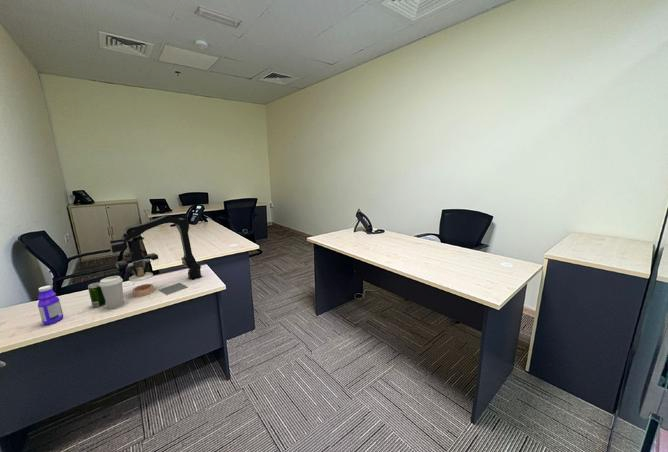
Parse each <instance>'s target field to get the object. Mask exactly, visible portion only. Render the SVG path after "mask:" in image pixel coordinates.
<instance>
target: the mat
mask: <svg viewBox="0 0 668 452" xmlns="http://www.w3.org/2000/svg"><path fill="white" fill-rule="evenodd" d="M188 288H189V286H187V285H185V284H183V283H181V282H177V283H173V284H172V285H168V286H165V287H162V288H160V289H158V291H159V292H161V293H162V294H164V295H166V296H168V295H172V294H175V293H177V292H179V291H183V290H186V289H188Z"/></svg>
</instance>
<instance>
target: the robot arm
mask: <svg viewBox="0 0 668 452" xmlns="http://www.w3.org/2000/svg"><path fill="white" fill-rule="evenodd" d="M167 223H172V224H174V225H175V227H176V229H177V230H178V232H179V234H180V235H179V236H180V240H181V244H182V245H181V247H182V251H183V257H181V264H183V266H184V267H186V268H187V269H188V272H187V278H188V279H189V280H192V281H194V280H197V279H200V278H203V275H202V273H201V272H202V271H201V268H202V266H201V265H200V264H198V263H197V261H196V258H195V257H194V254H193V251H192V247H191V241H190V237H189V231H190V223H189V220H187V219H186V218H182V217H179V218H178V217H174V216H172V215H170V214H164V215H162V216H159V217H157V218H154V219H151V220H148V221H146V222H143V223H137V224H132V225H128V226H126V227H125V228H124V233H123V235H122V236H121V238H118V239H109V250H110V253H111V254H115V253H121V252H123V253H122V256H123V257H122V258H123V260H120V261H116V262H115V268H117V269H119V270H121V269H124V268H128V269H130V270H131V271H132V273H133V275H136V276H137V271H136V268H137V267H136V265H134V264H136V263H140V262H141V264H142V267H143V268H144V273H146V272H147V270H148V267H149V265H150V263H152V261H156V260H159V255H158V254H156V253H154V252H152V253H147V254H146V256H144V253H143V252H144V249H143V247H142V242H141V241H142V240H143V241H144V240H145V237H143V236H142V234H144V233H145V232H147V231H148V230H150V229H151V230H152V229H153V228H156V227H159V226H161V225H163V224H167ZM127 249H128V252H124V251H126V250H127ZM125 259H128V260H127V261H126V260H125Z"/></svg>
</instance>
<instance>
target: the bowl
mask: <svg viewBox="0 0 668 452" xmlns="http://www.w3.org/2000/svg"><path fill="white" fill-rule="evenodd" d="M154 291H155V286H154V284H153V283H144V284H140V285H138V286H136V287H133V289H132V295H133V296H134V297H144V296H148V295H151V294H153V293H154Z"/></svg>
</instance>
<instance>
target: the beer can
mask: <svg viewBox="0 0 668 452" xmlns="http://www.w3.org/2000/svg"><path fill="white" fill-rule="evenodd" d="M99 283H100V281H98V282H93V283H90V284H88V285H87V290H88V293H89V297H90V301H91V302H90V303H91V305H92V307H93V308H96V309H97V308H101V307H104V306H105V305H107V303H106V300H105V298H104V295H103V292H102V289H101V287H100V286H99Z"/></svg>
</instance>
